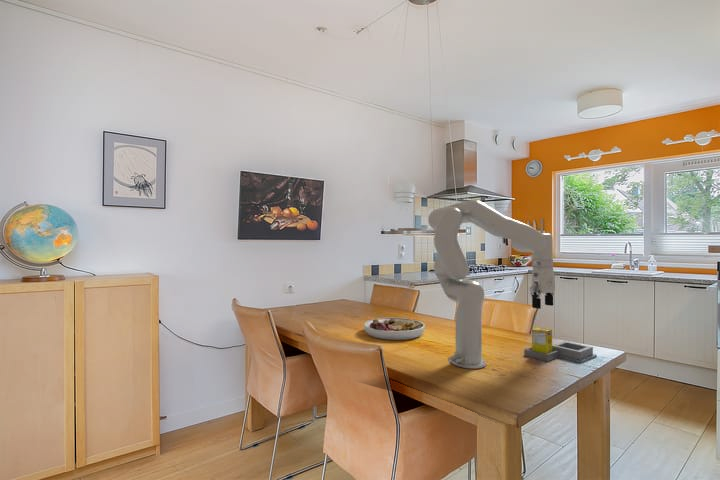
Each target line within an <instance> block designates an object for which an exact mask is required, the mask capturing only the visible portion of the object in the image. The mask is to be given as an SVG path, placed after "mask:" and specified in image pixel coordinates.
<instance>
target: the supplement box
mask: <svg viewBox="0 0 720 480" xmlns="http://www.w3.org/2000/svg"><path fill="white" fill-rule="evenodd" d="M552 345H553V329H552V328H546V327H539V326H536V327H533V328H532V329H531V347H532V350H533V351H537V352H541V353H545V354H548V353H551V352H552Z"/></svg>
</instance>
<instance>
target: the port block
mask: <svg viewBox="0 0 720 480" xmlns="http://www.w3.org/2000/svg"><path fill="white" fill-rule="evenodd" d="M552 349H555V350H559V351H560V355H559V357H558V358H560V359H564V360H568V361H571V362H576V363H578V364H579V363H580V364H583V363H585V362H587V361H590V360H593V359H595V358H597V355H598V354H596V353H595V354H594V346H589V345H584V344H580V343H576V342H575V343H574V342H570V341H565V340H564V341H561V342H557V343H555V344H552Z"/></svg>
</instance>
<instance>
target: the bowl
mask: <svg viewBox="0 0 720 480" xmlns="http://www.w3.org/2000/svg"><path fill="white" fill-rule="evenodd" d="M425 325H426V324H425V323H423V322H422V321H419V320H416V319H411V318H405V317H382V318H381V317H380V318H374V319H370V320H367V321H365V322H364V324H363V328H364V331H365V333H366V334H367V335H368V336H370V337H373V338H376V339H380V340H385V341H386V340H387V341H406V340H412V339H416V338H418V337H420V336H421V335H422V334H423V333H424V332H425V328H426V327H425Z"/></svg>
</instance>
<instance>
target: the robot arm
mask: <svg viewBox="0 0 720 480" xmlns="http://www.w3.org/2000/svg"><path fill="white" fill-rule="evenodd" d="M427 221H428V222H427V223H428V224H429V225H428V226H430V227H431V229H433V230H434V231H435V232H434V235H433V243H434V248H435V250H436V254H437V255H438V256H437V257H436V259H435V260H434V261H433V262H434V263H433V271H434V273H435V275H436V278H437V279H438V282H439V284H440V286H441V288H442V290H443V292H444V294H445V295H446V297H447V298H448V299H449V300H451V301H453V302H456V303H457V306H456V310H455V316H454V317H455V321H454V322H455V351H454V352H453V355H451V356H449V357H447V361H448V363H452V365H454V366H457V367H459V368H463V369H469V370H471V369H472V370H473V369H481V368H485V367H486V366H487V361H486V360H485V359H484V358H483V357H482V356H483V353H482V349H483V348H482V344H483V341H482V340H483V339H482V338H483V337H482V335H483V334H482V332H483V329H482V328H483V327H482V323H483V322H482V319H483V317H482V315H483V313H482V312H483V305H484V300H485V292H484V291H485V290H484V287H482V285H481V283H479V282H477V281H475V280H471V279H467V277H468V275H469V273H470V266H469V263H468V260H467V258H466V257H465V254H464V253H463V251H462V248H461V246H460V244H459V241H458V233H459V229H460V227H461V225H463V224H466V223H471V224H474V225H475V226H476V227H479V228H480V229H482V230H483V231H485V232H487V233H488V234H489V235H492V236H495V237H498V238H502V239H508V240H510V246H511V247H512V249H513V250H515V251H517V252H521V253H531V266H532V267H531V268H532V271H531V272H532V273H531V285H530V287H529V291H530V295H531V301H532V302H531V303H532V304H531V306H532V308H533V309H538V310H540V309H542V302H541V301H542V299H541V298H540V297H541V296H542V294H544V305H545V306H552V307H553V306H554V296H555V290H556V283H555V281H556V280H555V272H554V257H553V255H554V254H553V253H554V252H553V251H554V247H553V246H554V243H553V241H554V239H553V235H552V234H551V233H547V232H546V233H545V232H543V233H541V232H540V231H539V230H537V229H535V227H532V226H531V225H528V224H526V223H523V222H521V221H519V220H515V219H513V218H511V217H508V216H505V215H503V214H502V213H500V212H499V211H497V210H496V209H494V208H492V207H491V206H489V205H487V204H486V203H484V202H483V201H481V200H477V199H473V200H472V199H471V200H466V201H461V202H457V203H455V204H451V205H448V206H447V205H446V206H443V207H440V208H436V209H433V210H432V211H431V212H430V213H429V215H428V219H427Z"/></svg>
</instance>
